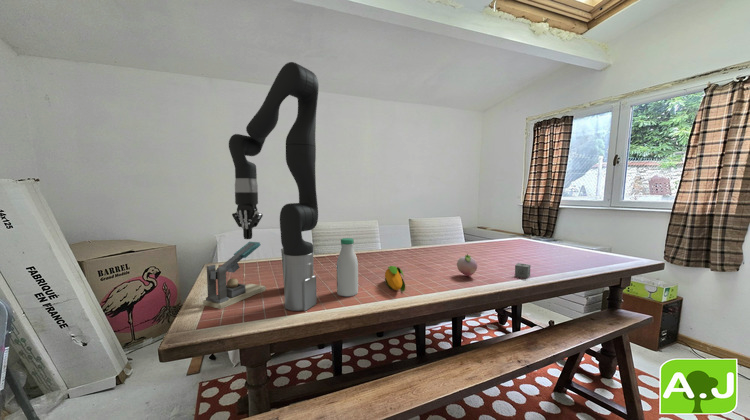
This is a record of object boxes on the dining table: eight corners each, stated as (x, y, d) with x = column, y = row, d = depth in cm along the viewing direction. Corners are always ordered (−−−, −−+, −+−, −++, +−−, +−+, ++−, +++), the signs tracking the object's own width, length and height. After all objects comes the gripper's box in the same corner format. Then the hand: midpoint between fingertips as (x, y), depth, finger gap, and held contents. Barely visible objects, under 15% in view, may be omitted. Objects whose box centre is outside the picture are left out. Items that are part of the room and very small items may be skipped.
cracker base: (265, 290, 106) (265, 256, 105) (220, 309, 89) (219, 269, 88) (249, 287, 109) (249, 254, 108) (203, 305, 92) (201, 266, 91)
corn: (400, 261, 119) (408, 275, 99) (401, 279, 119) (410, 296, 99) (382, 263, 118) (387, 277, 98) (384, 281, 119) (389, 298, 99)
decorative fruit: (455, 273, 129) (455, 251, 128) (473, 273, 127) (474, 252, 127) (458, 279, 119) (458, 256, 119) (478, 280, 118) (479, 256, 118)
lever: (259, 271, 105) (260, 242, 105) (218, 280, 89) (220, 246, 89) (249, 269, 107) (250, 241, 107) (207, 278, 91) (209, 245, 91)
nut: (241, 287, 98) (240, 277, 98) (232, 290, 95) (231, 280, 95) (233, 286, 100) (233, 276, 99) (224, 289, 96) (224, 279, 96)
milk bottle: (362, 293, 103) (362, 238, 102) (346, 298, 97) (346, 241, 96) (348, 288, 108) (348, 236, 107) (332, 293, 102) (332, 238, 101)
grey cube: (530, 275, 125) (530, 264, 124) (527, 278, 121) (527, 267, 121) (517, 273, 128) (518, 263, 128) (514, 276, 124) (515, 265, 124)
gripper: (268, 191, 103) (269, 238, 104) (241, 191, 108) (242, 236, 109) (252, 191, 96) (253, 241, 97) (224, 191, 101) (225, 239, 102)
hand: (247, 238), depth 103 cm, fingers closed
